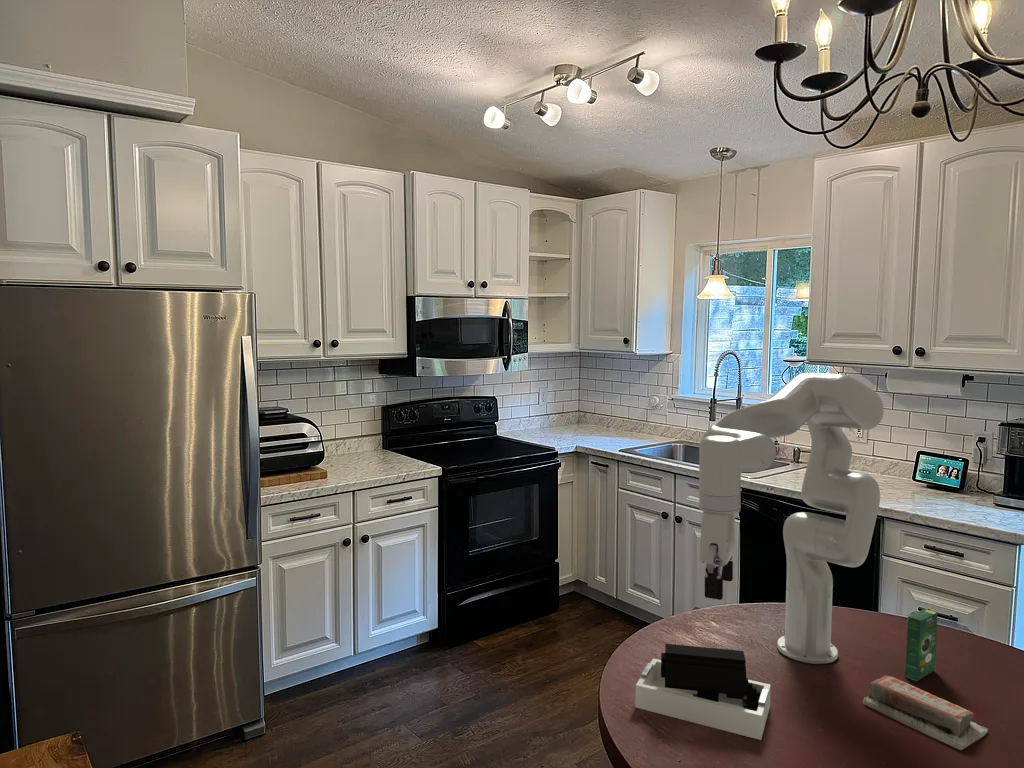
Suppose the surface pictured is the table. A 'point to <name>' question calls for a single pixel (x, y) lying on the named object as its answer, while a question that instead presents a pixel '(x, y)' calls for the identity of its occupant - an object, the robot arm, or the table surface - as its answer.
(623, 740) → the table surface
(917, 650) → the coffee box
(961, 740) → the packaged product
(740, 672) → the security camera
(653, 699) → the cradle
